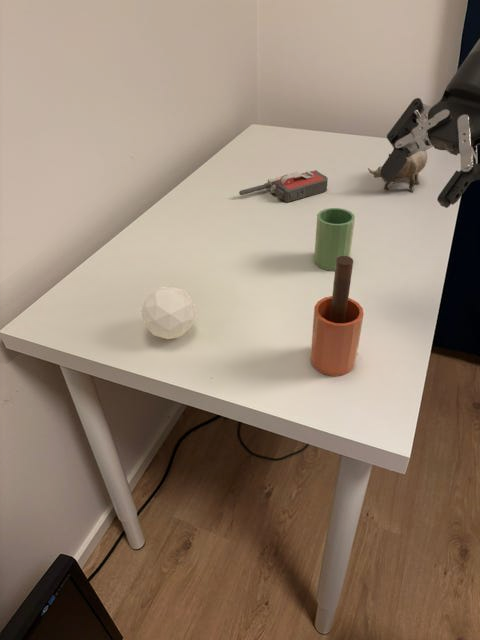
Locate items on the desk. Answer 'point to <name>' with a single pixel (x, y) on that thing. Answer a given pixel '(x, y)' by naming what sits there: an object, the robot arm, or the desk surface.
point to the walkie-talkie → (293, 185)
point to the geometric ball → (168, 312)
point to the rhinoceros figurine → (407, 170)
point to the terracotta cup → (335, 338)
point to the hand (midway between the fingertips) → (412, 191)
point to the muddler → (341, 289)
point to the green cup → (333, 236)
